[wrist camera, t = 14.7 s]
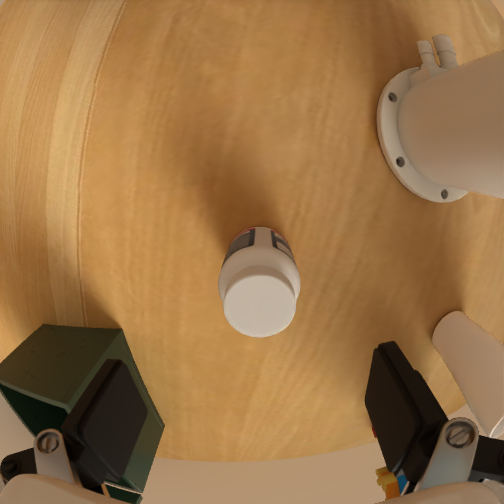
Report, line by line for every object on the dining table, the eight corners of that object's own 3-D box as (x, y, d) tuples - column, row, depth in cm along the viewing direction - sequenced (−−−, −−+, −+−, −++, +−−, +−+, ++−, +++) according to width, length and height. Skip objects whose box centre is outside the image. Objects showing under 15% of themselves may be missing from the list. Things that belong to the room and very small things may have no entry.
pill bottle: (226, 281, 24) (208, 341, 16) (230, 222, 22) (210, 257, 14) (287, 287, 24) (298, 349, 15) (295, 229, 22) (314, 267, 14)
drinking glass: (432, 307, 24) (513, 398, 10) (473, 299, 24) (552, 370, 9) (419, 357, 26) (476, 450, 12) (460, 346, 26) (520, 422, 11)
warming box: (42, 324, 27) (-11, 374, 16) (122, 328, 26) (66, 404, 15) (89, 412, 32) (59, 464, 21) (165, 425, 31) (142, 493, 20)
